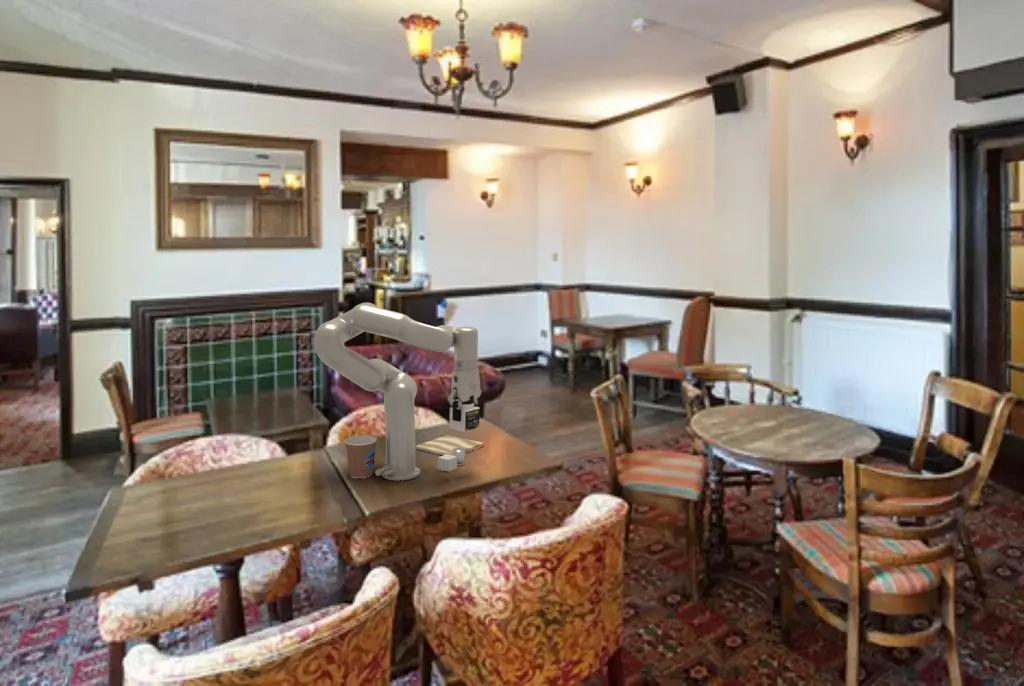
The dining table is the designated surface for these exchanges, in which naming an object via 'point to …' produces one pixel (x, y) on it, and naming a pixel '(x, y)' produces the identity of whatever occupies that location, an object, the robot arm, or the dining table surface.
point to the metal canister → (459, 455)
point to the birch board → (448, 444)
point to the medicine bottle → (466, 417)
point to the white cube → (447, 462)
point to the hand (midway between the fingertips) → (464, 418)
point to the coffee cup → (361, 455)
